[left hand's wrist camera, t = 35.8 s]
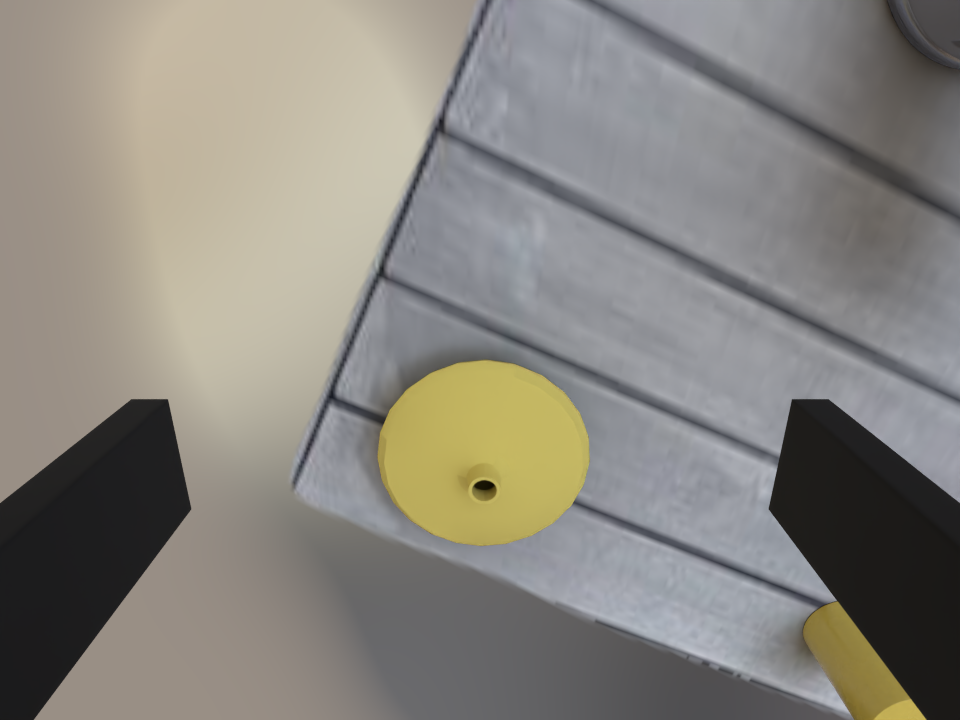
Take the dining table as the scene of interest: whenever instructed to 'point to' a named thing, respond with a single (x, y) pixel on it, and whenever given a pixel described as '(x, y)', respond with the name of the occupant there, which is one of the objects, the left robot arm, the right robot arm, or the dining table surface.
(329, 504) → the dining table surface
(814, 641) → the tin
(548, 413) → the vase
